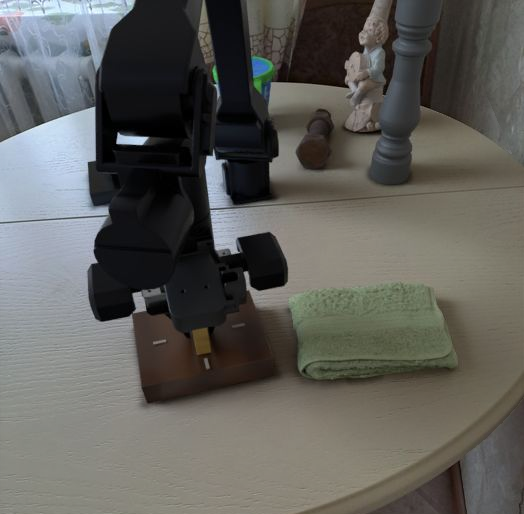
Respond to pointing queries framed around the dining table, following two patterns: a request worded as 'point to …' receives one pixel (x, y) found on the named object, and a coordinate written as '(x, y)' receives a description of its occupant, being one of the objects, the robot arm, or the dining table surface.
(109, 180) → the block
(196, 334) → the lock knob
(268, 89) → the snack cup
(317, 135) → the bolt
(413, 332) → the washcloth
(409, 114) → the candle holder
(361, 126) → the figurine
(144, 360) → the panel
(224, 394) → the dining table surface
